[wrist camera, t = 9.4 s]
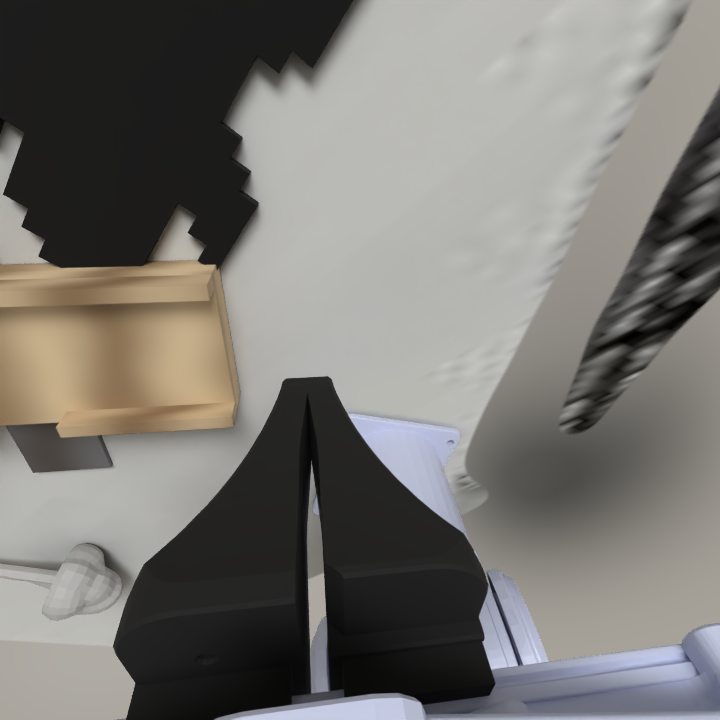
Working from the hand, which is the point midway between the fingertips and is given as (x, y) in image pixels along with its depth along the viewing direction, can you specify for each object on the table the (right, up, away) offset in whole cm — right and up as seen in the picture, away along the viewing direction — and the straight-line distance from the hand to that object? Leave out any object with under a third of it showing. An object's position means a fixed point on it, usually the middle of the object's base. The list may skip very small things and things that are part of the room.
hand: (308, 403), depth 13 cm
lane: (-16, 0, +10) cm, 19 cm away
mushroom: (-22, -13, +19) cm, 31 cm away
